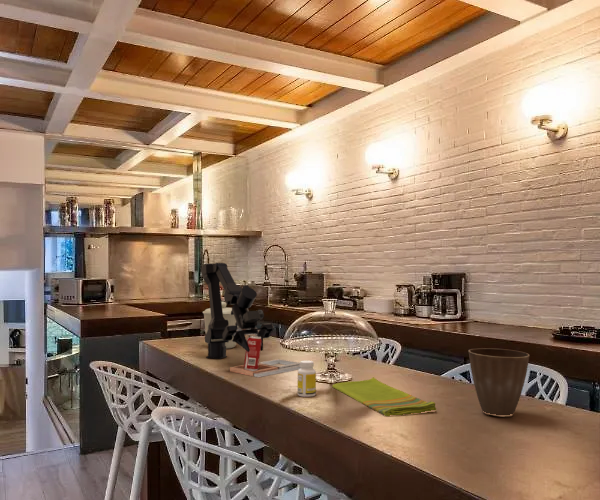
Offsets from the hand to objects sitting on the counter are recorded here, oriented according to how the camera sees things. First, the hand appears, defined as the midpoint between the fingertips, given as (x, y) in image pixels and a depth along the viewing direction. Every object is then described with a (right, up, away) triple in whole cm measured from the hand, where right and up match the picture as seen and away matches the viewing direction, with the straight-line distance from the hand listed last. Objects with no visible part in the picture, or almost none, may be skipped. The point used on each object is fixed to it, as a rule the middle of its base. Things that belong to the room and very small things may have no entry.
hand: (255, 350), depth 196 cm
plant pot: (+67, -7, -53) cm, 86 cm away
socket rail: (+5, -8, +5) cm, 10 cm away
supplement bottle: (+18, -7, -34) cm, 39 cm away
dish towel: (+39, -8, -38) cm, 55 cm away
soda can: (-2, -7, 0) cm, 7 cm away
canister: (-20, -9, +57) cm, 61 cm away
